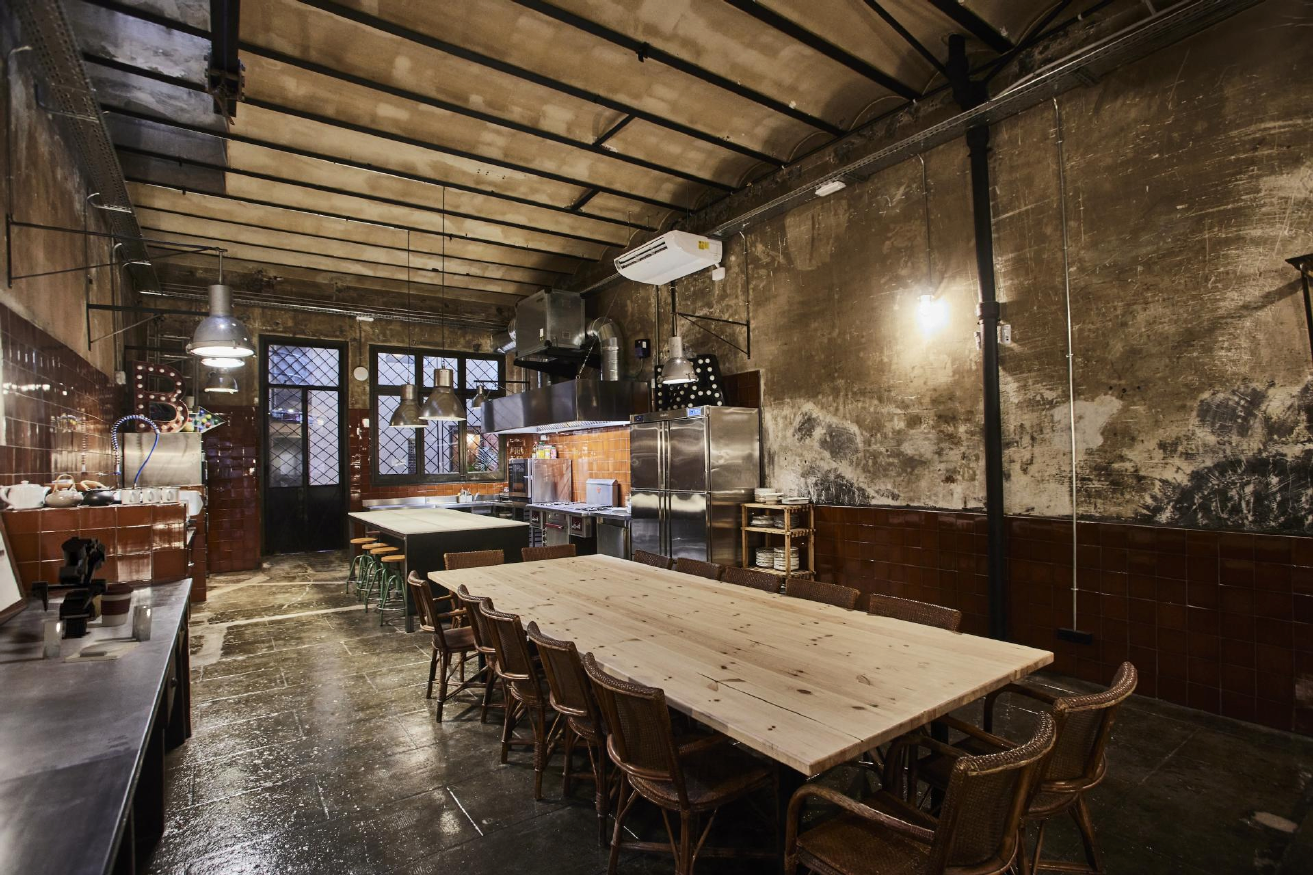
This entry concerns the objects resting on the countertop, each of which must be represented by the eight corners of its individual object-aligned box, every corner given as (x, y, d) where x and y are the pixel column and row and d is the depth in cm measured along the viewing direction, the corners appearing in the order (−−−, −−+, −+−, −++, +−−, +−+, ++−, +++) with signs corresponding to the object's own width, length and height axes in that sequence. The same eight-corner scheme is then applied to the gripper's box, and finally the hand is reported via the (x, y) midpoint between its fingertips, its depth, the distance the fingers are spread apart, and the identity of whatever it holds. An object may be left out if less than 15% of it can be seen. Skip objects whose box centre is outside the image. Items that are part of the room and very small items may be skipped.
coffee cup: (138, 621, 241) (140, 583, 241) (113, 628, 231) (116, 587, 232) (115, 620, 242) (117, 581, 242) (89, 626, 232) (92, 586, 233)
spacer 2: (134, 636, 221) (136, 605, 222) (147, 635, 223) (150, 604, 223) (129, 639, 218) (131, 607, 218) (143, 638, 219) (145, 606, 220)
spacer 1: (46, 656, 196) (49, 621, 197) (62, 655, 198) (65, 620, 198) (39, 659, 193) (42, 624, 193) (55, 658, 194) (58, 623, 195)
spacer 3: (138, 639, 218) (140, 607, 218) (152, 638, 219) (154, 607, 220) (133, 642, 214) (135, 610, 215) (147, 641, 215) (149, 609, 216)
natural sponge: (86, 624, 236) (88, 597, 236) (68, 622, 237) (70, 596, 238) (111, 618, 244) (113, 593, 245) (94, 617, 246) (96, 591, 247)
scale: (91, 648, 206) (92, 640, 206) (139, 645, 210) (139, 638, 211) (65, 662, 191) (65, 654, 191) (116, 659, 195) (117, 651, 196)
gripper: (33, 557, 202) (20, 599, 193) (108, 554, 213) (100, 594, 204) (38, 576, 209) (26, 617, 200) (110, 572, 219) (103, 611, 210)
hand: (64, 609), depth 203 cm, fingers open, 9 cm apart
